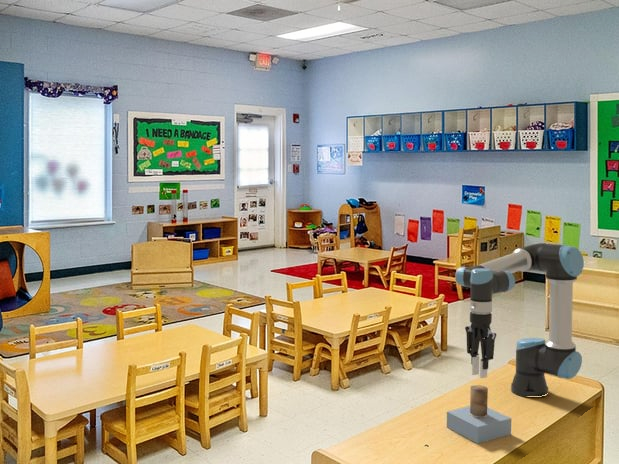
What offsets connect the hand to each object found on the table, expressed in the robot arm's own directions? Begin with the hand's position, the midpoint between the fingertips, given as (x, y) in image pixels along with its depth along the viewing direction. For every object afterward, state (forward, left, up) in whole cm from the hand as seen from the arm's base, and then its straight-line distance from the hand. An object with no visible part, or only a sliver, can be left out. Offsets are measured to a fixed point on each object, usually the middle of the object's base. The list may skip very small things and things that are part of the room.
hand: (479, 375), depth 223 cm
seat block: (0, 0, -21) cm, 21 cm away
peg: (0, 0, -20) cm, 20 cm away
